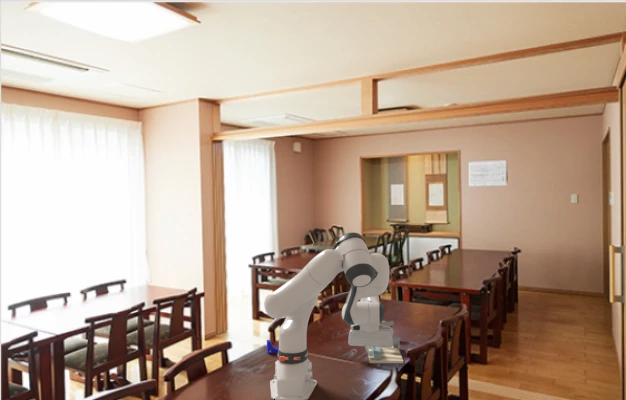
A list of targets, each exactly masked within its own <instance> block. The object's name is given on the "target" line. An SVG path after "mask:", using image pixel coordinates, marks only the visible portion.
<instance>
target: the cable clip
mask: <svg viewBox="0 0 626 400" xmlns="http://www.w3.org/2000/svg"><path fill="white" fill-rule="evenodd" d="M271 341H272V340H271V339H266V353H267V354H268V355H269V354H271V355H272V354H278V349H279V346H278V347H275V346H273V344H272V342H271Z"/></svg>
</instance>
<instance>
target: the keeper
mask: <svg viewBox="0 0 626 400" xmlns="http://www.w3.org/2000/svg"><path fill="white" fill-rule="evenodd" d="M392 339H393V348H399V350H401V343H400V342H401V337H400V336H392Z"/></svg>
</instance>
